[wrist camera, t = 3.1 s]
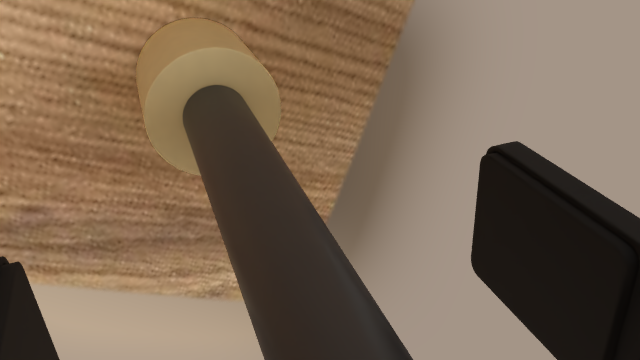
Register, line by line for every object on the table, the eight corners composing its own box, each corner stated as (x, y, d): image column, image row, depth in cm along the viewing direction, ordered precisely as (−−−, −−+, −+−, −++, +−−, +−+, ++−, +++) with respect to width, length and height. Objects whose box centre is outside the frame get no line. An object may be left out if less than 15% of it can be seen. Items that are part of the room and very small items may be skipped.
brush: (245, 10, 20) (533, 277, 7) (258, 119, 22) (498, 486, 9) (123, 26, 19) (187, 381, 6) (148, 139, 21) (238, 590, 8)
